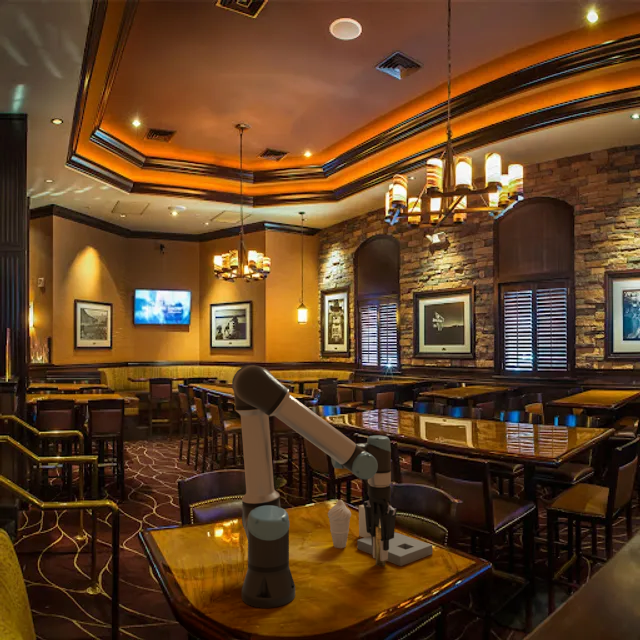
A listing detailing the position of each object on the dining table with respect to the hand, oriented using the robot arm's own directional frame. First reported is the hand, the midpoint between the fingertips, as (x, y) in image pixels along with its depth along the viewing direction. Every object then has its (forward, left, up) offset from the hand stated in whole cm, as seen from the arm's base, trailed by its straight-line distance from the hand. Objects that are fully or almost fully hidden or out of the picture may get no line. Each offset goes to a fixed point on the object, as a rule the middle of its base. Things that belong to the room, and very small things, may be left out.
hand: (380, 558), depth 173 cm
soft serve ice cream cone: (+1, +21, -2) cm, 21 cm away
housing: (+18, +20, -2) cm, 27 cm away
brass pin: (0, 0, -2) cm, 2 cm away
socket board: (+12, +5, -2) cm, 13 cm away
